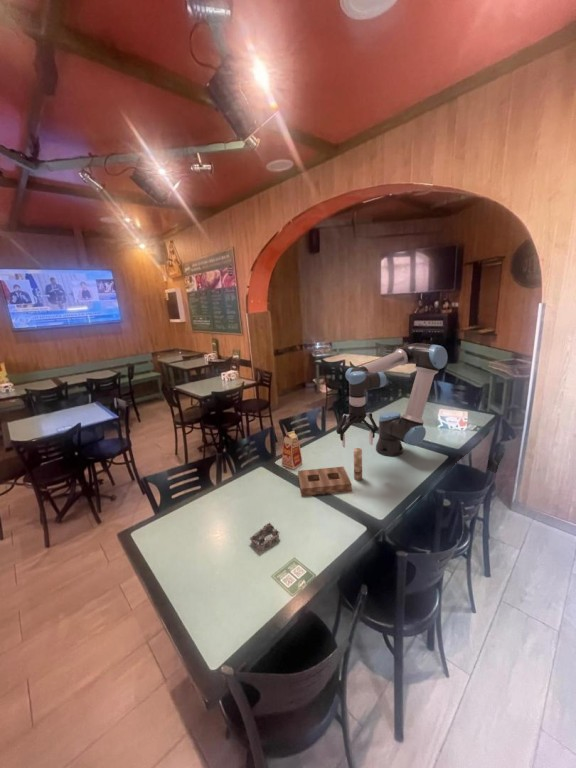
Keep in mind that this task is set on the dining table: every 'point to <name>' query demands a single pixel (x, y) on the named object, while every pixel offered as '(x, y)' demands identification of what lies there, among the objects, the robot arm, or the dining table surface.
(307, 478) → the board
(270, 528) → the egg carton
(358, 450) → the peg
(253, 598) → the dining table surface
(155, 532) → the dining table surface
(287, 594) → the dining table surface
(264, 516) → the dining table surface
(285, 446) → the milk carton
